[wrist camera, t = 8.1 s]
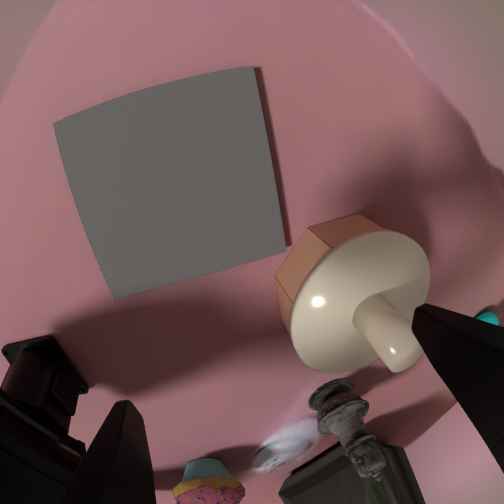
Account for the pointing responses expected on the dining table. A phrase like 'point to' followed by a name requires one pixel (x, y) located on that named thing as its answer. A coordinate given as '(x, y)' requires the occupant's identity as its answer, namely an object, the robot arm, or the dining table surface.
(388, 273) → the lid
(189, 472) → the cupcake
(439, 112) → the dining table surface
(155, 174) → the mat
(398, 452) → the bottle
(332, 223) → the bowl
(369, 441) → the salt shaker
